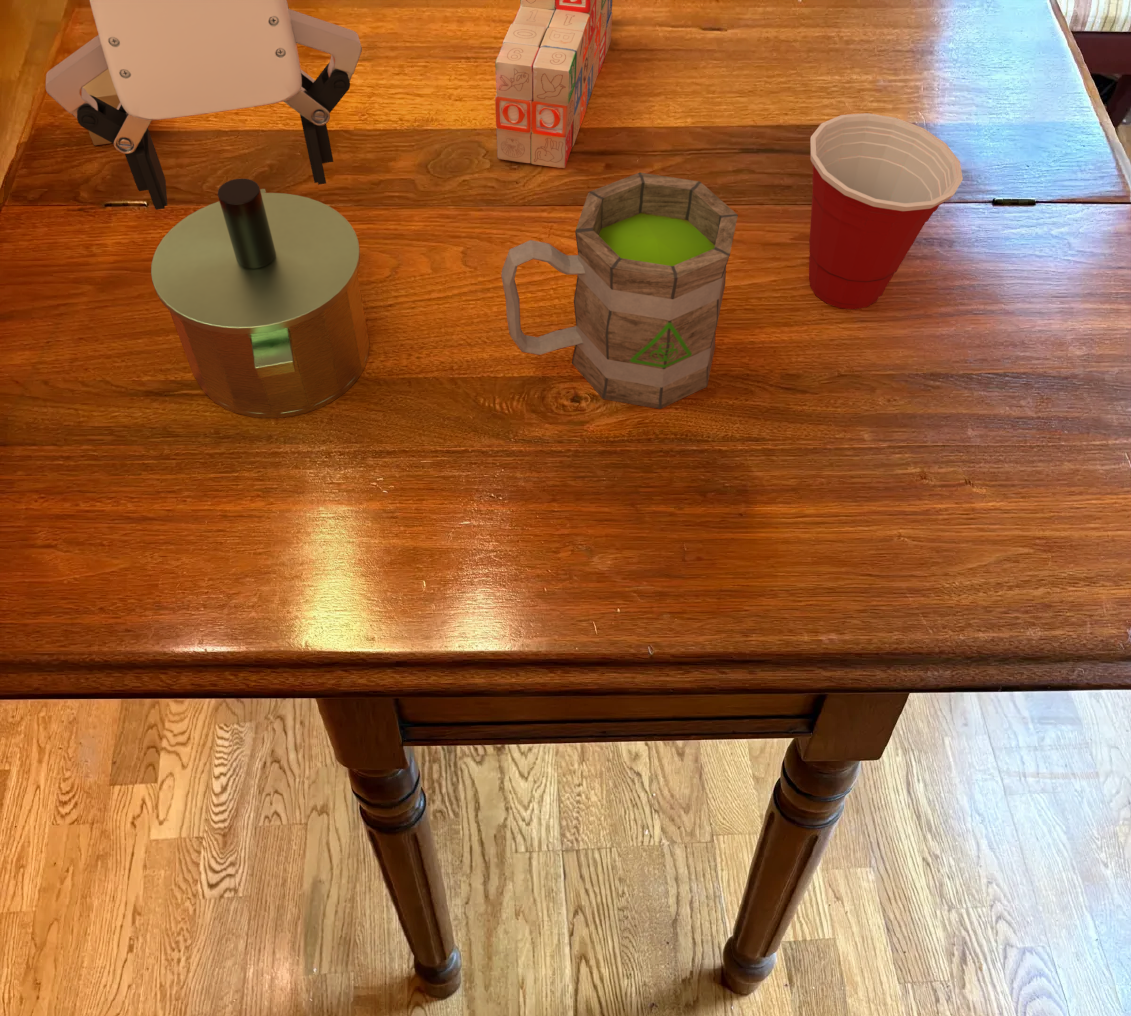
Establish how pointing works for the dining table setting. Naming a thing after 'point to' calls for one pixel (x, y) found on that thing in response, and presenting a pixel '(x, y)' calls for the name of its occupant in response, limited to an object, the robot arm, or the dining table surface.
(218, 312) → the lid
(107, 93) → the block
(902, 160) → the plastic cup
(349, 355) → the pot
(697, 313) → the mug
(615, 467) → the dining table surface
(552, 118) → the stack of blocks
